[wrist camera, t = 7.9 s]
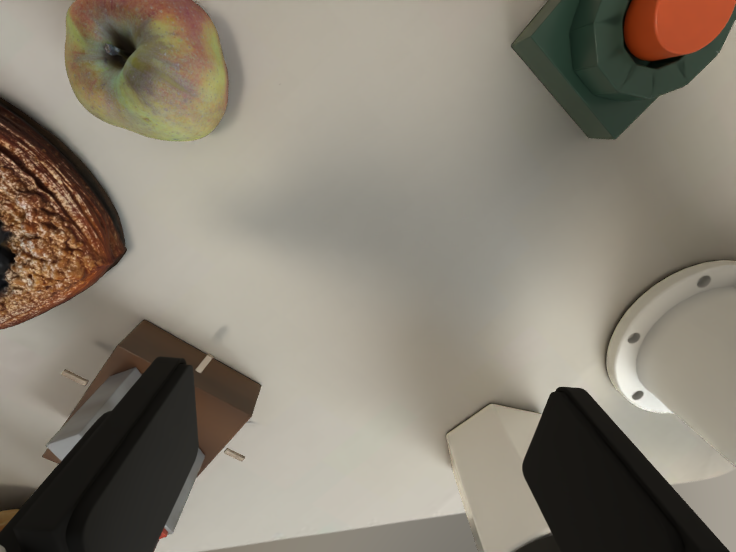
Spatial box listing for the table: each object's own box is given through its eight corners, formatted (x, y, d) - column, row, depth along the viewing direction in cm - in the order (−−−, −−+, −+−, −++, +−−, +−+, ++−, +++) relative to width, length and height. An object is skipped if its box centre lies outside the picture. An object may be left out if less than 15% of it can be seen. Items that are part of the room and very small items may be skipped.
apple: (291, 114, 19) (269, 110, 14) (152, 157, 19) (78, 170, 14) (245, -21, 17) (198, -91, 11) (88, 31, 17) (-30, -12, 12)
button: (672, -49, 14) (714, -71, 13) (710, 13, 15) (753, 0, 14) (607, 23, 15) (639, 11, 14) (648, 78, 16) (681, 73, 15)
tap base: (139, 276, 22) (108, 299, 19) (300, 372, 26) (295, 404, 23) (50, 412, 26) (13, 448, 23) (203, 480, 29) (187, 519, 26)
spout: (109, 376, 21) (40, 449, 16) (136, 366, 21) (74, 438, 16) (181, 463, 24) (141, 547, 20) (205, 455, 24) (171, 538, 19)
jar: (545, 468, 31) (655, 655, 20) (454, 487, 32) (513, 683, 20) (542, 390, 28) (673, 565, 17) (439, 413, 28) (502, 600, 17)
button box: (622, -88, 17) (701, -148, 13) (695, 28, 19) (782, 5, 15) (510, 46, 18) (551, 26, 15) (588, 138, 21) (642, 141, 17)
